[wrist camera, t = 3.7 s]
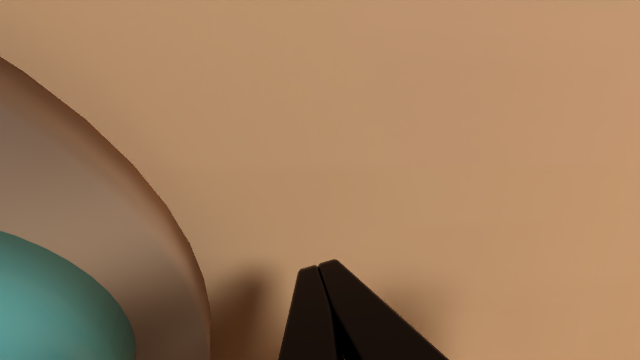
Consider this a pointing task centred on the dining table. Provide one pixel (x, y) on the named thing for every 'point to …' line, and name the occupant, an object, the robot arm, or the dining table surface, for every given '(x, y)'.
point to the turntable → (99, 218)
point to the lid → (56, 309)
